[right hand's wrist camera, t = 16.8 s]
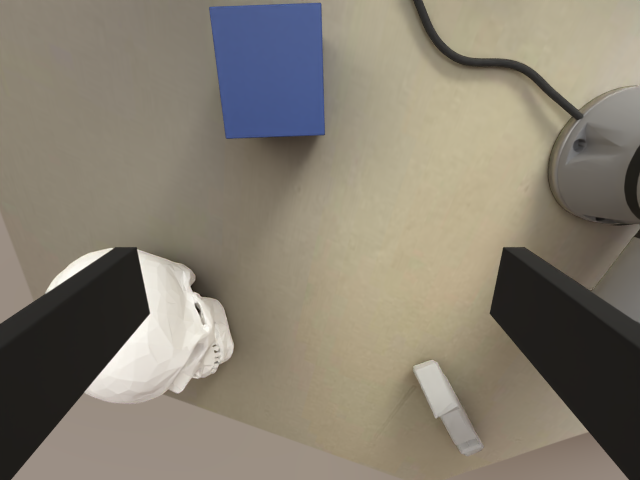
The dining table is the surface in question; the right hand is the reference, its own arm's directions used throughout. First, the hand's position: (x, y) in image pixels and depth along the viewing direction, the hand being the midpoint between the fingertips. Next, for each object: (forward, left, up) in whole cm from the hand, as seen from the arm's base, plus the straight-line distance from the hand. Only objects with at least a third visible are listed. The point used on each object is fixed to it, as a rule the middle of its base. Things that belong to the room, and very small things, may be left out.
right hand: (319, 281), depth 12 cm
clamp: (+42, -2, -30) cm, 51 cm away
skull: (+6, -26, -30) cm, 40 cm away
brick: (-9, +1, -30) cm, 31 cm away
